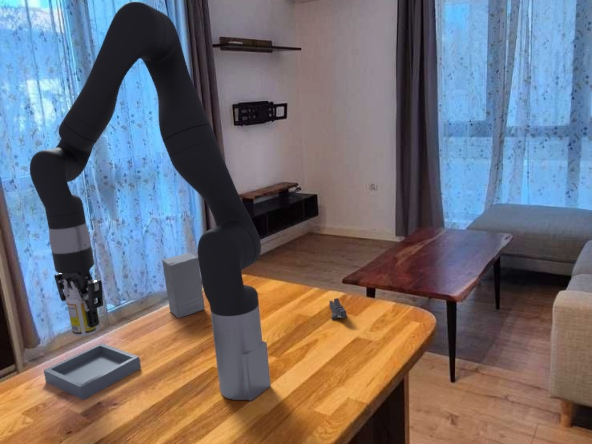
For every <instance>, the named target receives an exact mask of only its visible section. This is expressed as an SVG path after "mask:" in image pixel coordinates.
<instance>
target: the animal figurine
mask: <svg viewBox="0 0 592 444" xmlns="http://www.w3.org/2000/svg"><path fill="white" fill-rule="evenodd" d="M328 302H329V309H330V310H331V312H332V314H331V317H330V319H331V320H333V321H334V320H335V319H336V318H341V319H344V318H347V317H348V314H347V311H346V309H345V308H344V306H343V305H341V303H340V300H339V298H334V299H333V300H329V301H328Z"/></svg>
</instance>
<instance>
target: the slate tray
mask: <svg viewBox="0 0 592 444" xmlns="http://www.w3.org/2000/svg"><path fill="white" fill-rule="evenodd" d="M141 369H142V367H141V359H140V356H139V355H136V354H133V353H130V352H128V351H125V350H122V349H119V348H116V347H114V346H111V345H109V344H106V343H103V342H100V343H98V344H96V345H94V346H92V347H90V348H87V349H85V350H84V351H83V350H82V352H79V353H77V354H75V355H73V356H70V357H69V358H66V359H64V360H62V361H60V362H58V363H55V364H53V365H51V366H50V367H47V368H45V369H43V375H44V379H45V382H46V384H47V383H48V384H49V385H52V386H53V387H55V388H58V389H59V390H61V391H63V392H65V393H68V394H70V395H72V396H73V397H75V398H78V399H80V400H82V401H85V400H86V399H88V398H90V397H92V396H93V395H95V394H97V393H99V392H101V391H103V390H104V389H106V388H108V387H110V386H112V385H114V384H115V383H117V382H119V381H120V380H122V379H125V378H126V377H127V376H130V375H131V374H133V373H135V372H137V371H138V370H141Z"/></svg>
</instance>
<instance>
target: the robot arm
mask: <svg viewBox="0 0 592 444" xmlns="http://www.w3.org/2000/svg"><path fill="white" fill-rule="evenodd" d="M178 33H179V32H178V30H177V28H176V26H175V24H174V22H173V21H172V20H171V19H170V17H169V16H168V15H166V14H165V13H164V12H162V11H160V10H159V9H156V8H155V7H153V6H151V5H149V4H147V3H145V2H141V1H136V0H135V1H129V2H126V3H124V4H123V5H122V6H120V7H119V8H118V9H117V11H116V13H115V14H114V16H113V18H112V20H111V22H110V24H109V26H108V28H107V32H106V34H105V36H104V39H103V42H102V44H101V47H100V48H99V51H98V53H97V55H96V58H95V60H94V63H93V65H92V66H91V70H90V71H89V72H90V73H89V75H88V77H87V79H86V81H85V84H83V87H82V89H81V90H80V92H79V94H78V96H77V97H76V99H75V101H74V102H73V103H72V105H71V107H70V109H69V110H68V111H67V112H66V115H65V116H64V118H63V119H62V121H61V122H60V124H59V127H58V135H59V137H60V138H61V139H60V140H59V142H58V144H57V145H56V146H55V147H54V148H47V149H43V150H40V151H37V152H36V153H35V154H34V155H33V156H32V157H31V159H30V163H29V175H30V178H31V179H30V180H31V182H32V184H33V186H34V188H35V191H36V193H37V194H38V195H37V196H38V197H39V200H40V201H41V203H42V204H43V206H44V210H45V215H46V221H47V227H48V236H49V238H48V239H49V240H48V241H49V244H50V249H51V250H50V251H51V256H52V261H53V265H54V270H55V272H56V274H54V280H55V284H56V287H57V291H58V294H59V298H60V301H61V302H65V304H66V306H67V298H68V297H69V296H70V295H69V288H70V287H71V288H73V289H74V290H75V293H76V295H77V298H78V300H79V301H80V302H82V303H83V306H84V308H85V310H86V311H85V313H86V319H87V324H88V327H91V328H92V327H94V326H97V325H98V324H99V321H100V318H99V319H98V315H99V312H98V313H97V310H98V308H100V307H103V306H104V296H103V295H104V294H103V283H102V280H101V279H97V280H94V279H93V276H92V275H91V272H90V270H91V269H92V268H93V266H94V265H95V259H94V254H93V253H94V252H93V247H92V243H91V242H92V240H91V235H90V231H89V228H88V225H87V221H86V215H85V210H84V209H85V208H84V204H83V201H82V199H81V197H80V196H78V195H76V194H72V192H71V189H70V186H69V184H68V183H70V182H72V181H74V180H76V179H77V178H78V177H80V175H81V174H83V171H84V170H85V168H86V166H87V164H88V162H89V160H90V157H91V155H92V152H93V149H94V146H95V144H96V143H97V142H98V140H100V137H101V136H102V134H103V133H104V131H105V130H106V128H107V127H108V126H109V123H110V122H111V121H112V118H113V115H114V114H115V110H116V106H117V101H118V97H119V92H120V88H121V86H122V83H123V81H124V79H125V78H126V75H127V73H129V71H130V69H131V68H132V67H133V66H134V64H136V63H137V61H138V60H139V59H141V60H142V61H143V63H144V65H145V67H146V69H147V71H148V73H149V75H150V78H151V80H152V83H153V85H154V87H155V91H156V96H157V102H158V113H157V114H158V127H159V133H160V136H161V139H162V142H163V144H164V146H165V149H166V152H167V155H168V157H169V160H170V162H171V164H172V166H173V168H174V169H175V171H176V172H177V173H178V174H179V176H181V178H182V179H183V180H184V181H185V182H186V183H188V185H189V186H190V187H192V189H193V190H195V191H196V192H197V193H198V195H199V196H201V198H203V200H204V202H205V203H206V204H207V206H208V208H209V210H210V212H211V215H212V216H213V219H214V222H215V225H216V227H213V228H211V229H208V230H207V231H205V232H204V233H203V234H202V235H200V238H199V241H198V244H197V258H198V261H199V269H200V277H201V284H202V290H203V293H204V295H205V298H206V300H207V302H208V304H209V309H210V317H211V326H212V335H213V343H214V344H213V345H214V351H215V358H216V367H217V369H216V370H217V375H218V376H217V377H218V382H219V392H220V394H221V395H222V396H223V397H225V398H227V399H228V400H232V401H243V400H248V401H253V400H254V399H255V398H257V397H258V396H260V395H261V394H262V393H263V392H264V391H266V390H267V389H268V388H270V387H271V385H272V384H271V375H270V366H269V365H270V363H269V354H268V353H269V352H268V344H267V342H266V341H263V335H262V324H261V314H260V304H259V303H260V302H259V301H260V300H259V294H258V291H257V289H256V288H255V287H253V286H251V285H246V284H244V279H243V273H242V270H244V269H246V268H248V267H250V266H251V265H253V264H255V263H256V262H257V261H258V260H259V258H260V257H261V253H262V244H261V243H262V241H261V238H260V234H259V233H258V230H257V228H256V226H255V223H254V222H253V220H252V218H251V216H250V214H249V211H248V210H247V209H246V206H245V204H244V203H243V201H242V199H241V197H240V195H239V193H238V190H237V188H236V186H235V183H234V180H233V178H232V176H231V174H230V171H229V169H228V166H227V164H226V162H225V158H224V157H223V154H222V152H221V149H220V146H219V143H218V140H217V138H216V137H217V136H216V135H215V133H214V131H213V128H212V125H211V122H210V120H209V118H208V116H207V114H206V110H205V109H204V107H203V104H202V101H201V99H200V97H199V94H198V91H197V89H196V87H195V85H194V83H193V80H192V77H191V74H190V72H189V68H188V65H187V62H186V58H185V54H184V51H183V48H182V44H181V40H180V37H179V34H178ZM86 293H88V295H86V296H83V294H86ZM87 299H89V305H88V302H87Z"/></svg>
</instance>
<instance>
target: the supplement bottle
mask: <svg viewBox="0 0 592 444" xmlns="http://www.w3.org/2000/svg"><path fill="white" fill-rule="evenodd" d="M69 295H70V296H69V297H68V298H67V305H66V306H67V311H68V316H69V321H70V325H71V330H72V334H73V335H74V336H75V337H88V336H90V335H94V334H96V333H98V331H99V330H100V329H101V321H100V317H99V310H98V309H97V313H98V319H99V324H98V325H97V326H94V327H92V328H91V327H88V324H87V319H86V313H85V311H86V310H85V308H84V306H83V303H82V302H80V301H79V300H78V298H77V295H76V293H75V290H74V289H73V288H71V287H70V288H69ZM86 295H88V293H86V294H83V296H86ZM87 302H88V305H89V299H87Z"/></svg>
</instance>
